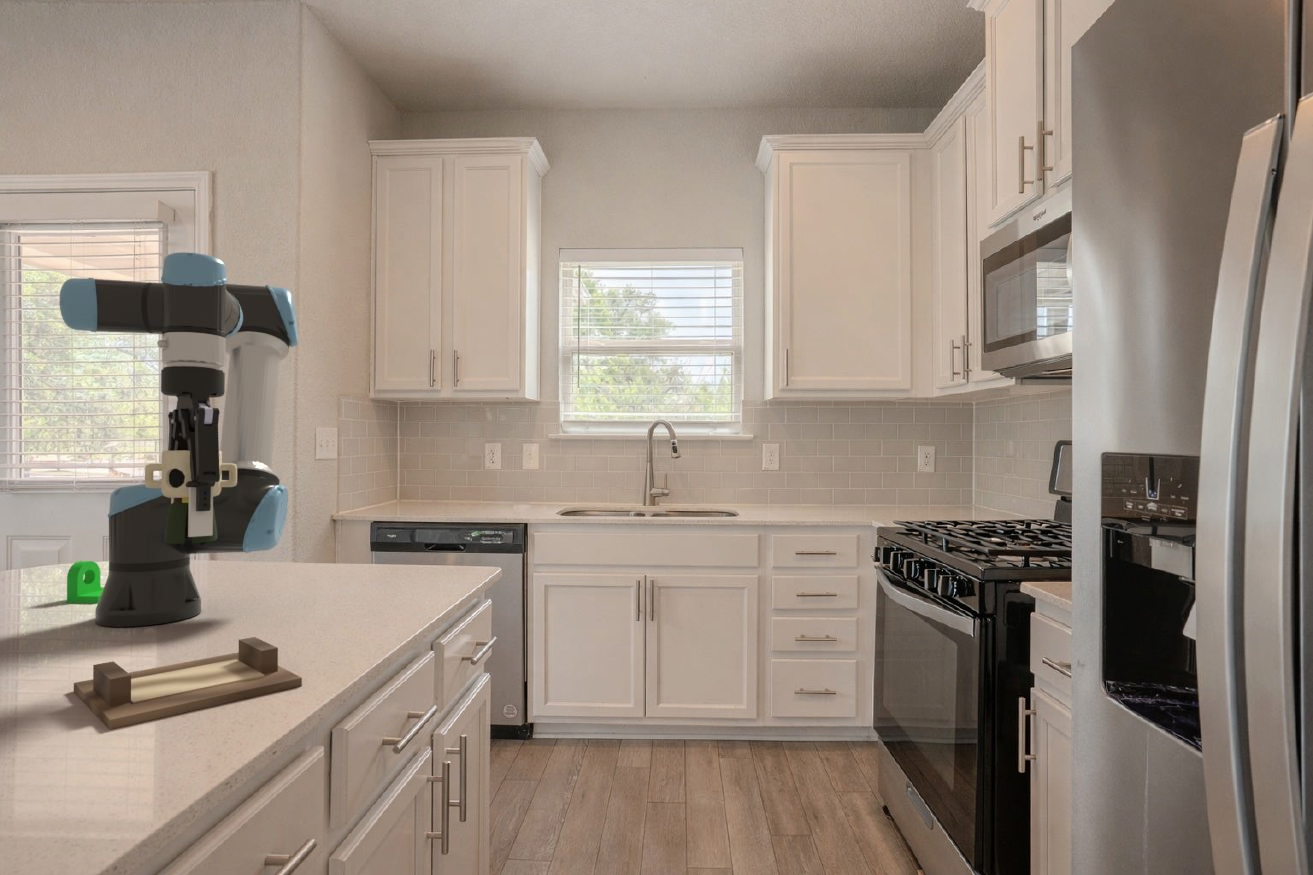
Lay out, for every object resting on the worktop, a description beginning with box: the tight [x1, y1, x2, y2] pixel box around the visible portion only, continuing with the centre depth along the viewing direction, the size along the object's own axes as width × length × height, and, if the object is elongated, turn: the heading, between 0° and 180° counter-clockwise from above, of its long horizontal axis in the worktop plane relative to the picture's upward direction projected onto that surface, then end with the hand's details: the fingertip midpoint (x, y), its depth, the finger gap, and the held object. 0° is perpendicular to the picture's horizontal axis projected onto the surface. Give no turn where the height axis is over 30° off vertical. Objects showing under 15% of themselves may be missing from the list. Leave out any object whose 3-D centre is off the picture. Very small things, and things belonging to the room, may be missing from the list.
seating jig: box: [73, 636, 303, 730], centre depth 95 cm, size 18×20×4 cm
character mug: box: [144, 450, 237, 546], centre depth 105 cm, size 11×7×13 cm, turn 115°
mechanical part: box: [66, 560, 104, 604], centre depth 147 cm, size 12×6×8 cm, turn 178°
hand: (191, 533), depth 105 cm, fingers closed on character mug, 7 cm apart
